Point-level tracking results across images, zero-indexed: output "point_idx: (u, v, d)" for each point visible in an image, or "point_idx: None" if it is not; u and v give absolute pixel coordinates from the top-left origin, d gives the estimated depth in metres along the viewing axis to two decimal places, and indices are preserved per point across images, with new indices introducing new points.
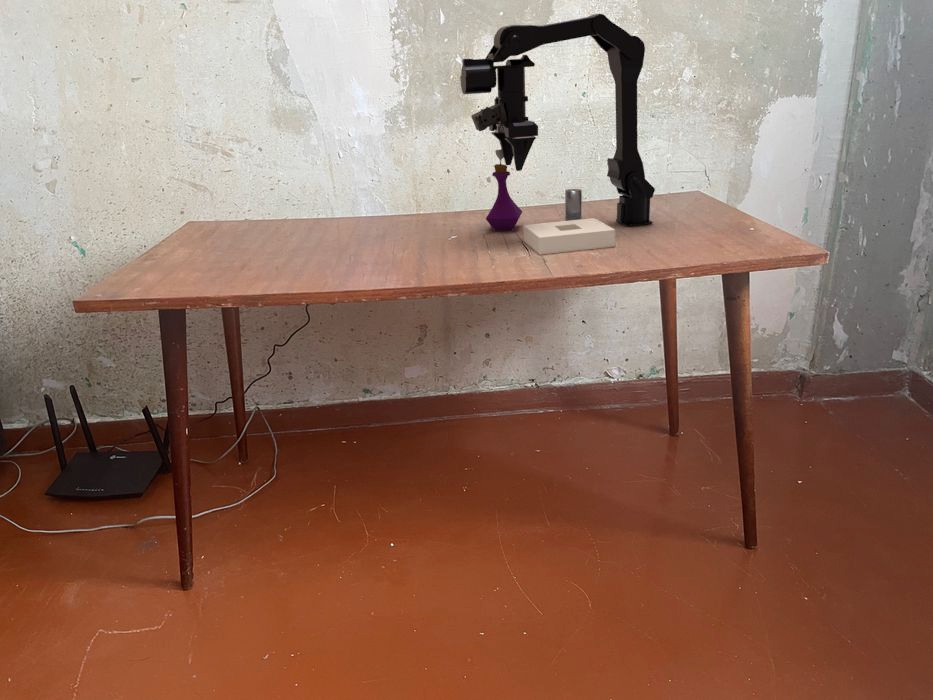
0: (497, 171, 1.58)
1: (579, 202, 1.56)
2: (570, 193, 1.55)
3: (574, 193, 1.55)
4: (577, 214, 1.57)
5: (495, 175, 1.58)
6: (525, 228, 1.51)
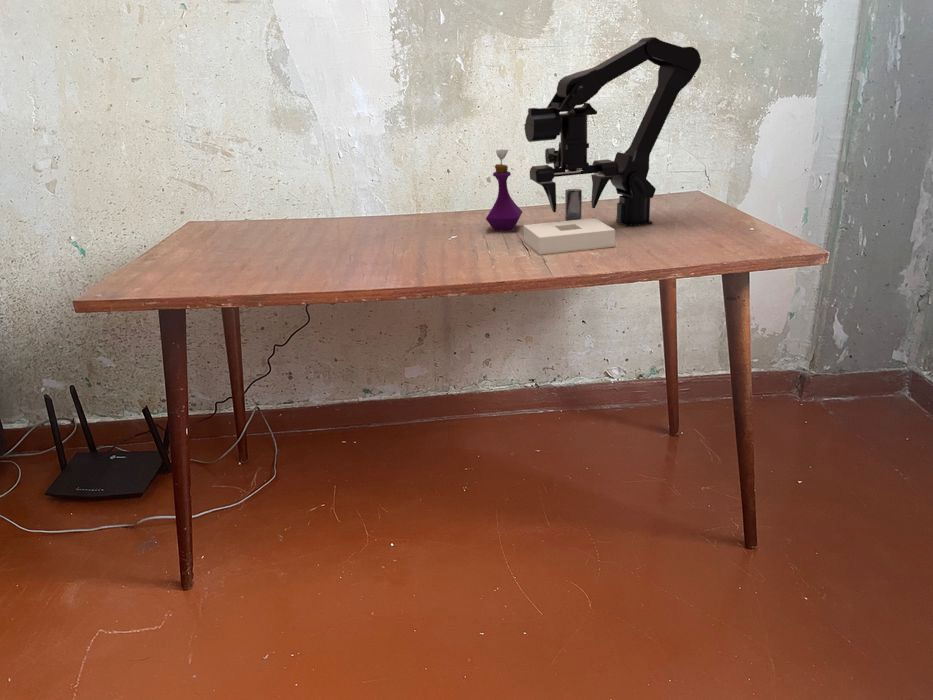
0: (498, 171, 1.58)
1: (579, 202, 1.56)
2: (570, 193, 1.55)
3: (574, 193, 1.55)
4: (577, 214, 1.57)
5: (496, 175, 1.58)
6: (525, 228, 1.51)
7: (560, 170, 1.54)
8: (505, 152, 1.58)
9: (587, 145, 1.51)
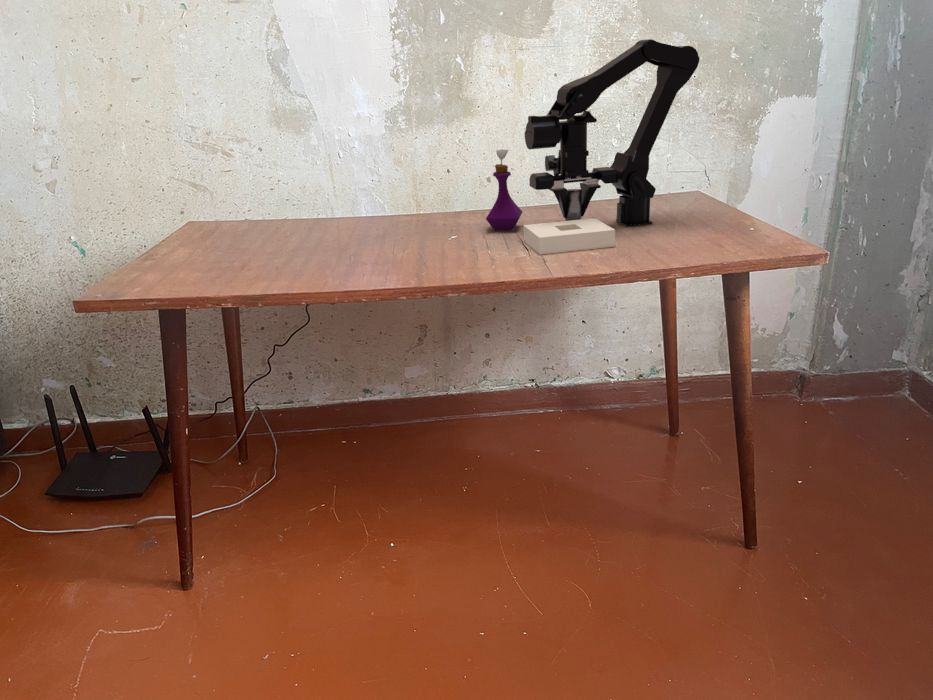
0: (498, 171, 1.58)
1: (579, 202, 1.56)
2: (570, 193, 1.55)
3: (574, 193, 1.55)
4: (577, 214, 1.57)
5: (496, 175, 1.58)
6: (525, 228, 1.51)
7: (560, 177, 1.54)
8: (505, 152, 1.58)
9: (587, 153, 1.51)
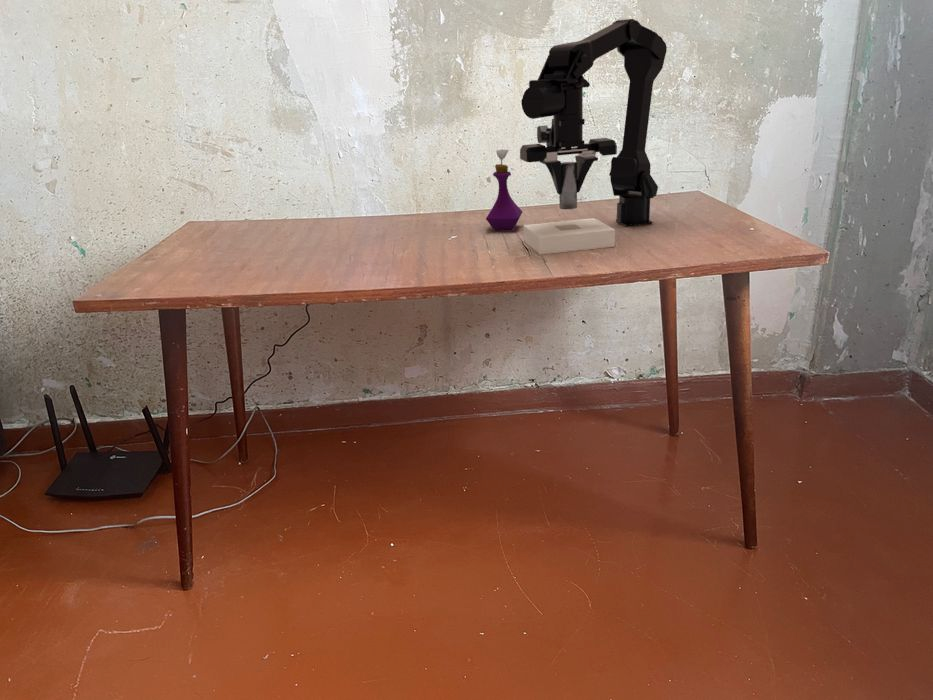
0: (498, 171, 1.58)
1: (574, 176, 1.43)
2: (564, 166, 1.42)
3: (569, 166, 1.41)
4: (572, 189, 1.43)
5: (496, 175, 1.58)
6: (525, 228, 1.51)
7: (553, 149, 1.41)
8: (505, 152, 1.58)
9: (582, 121, 1.37)
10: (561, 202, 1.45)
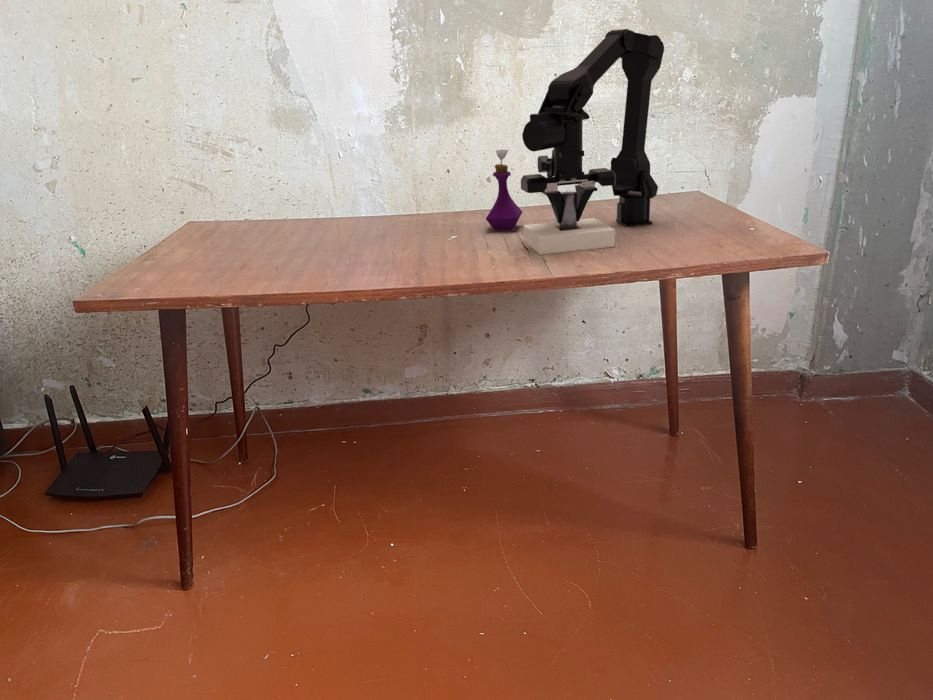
0: (498, 171, 1.58)
1: (574, 206, 1.45)
2: (564, 196, 1.44)
3: (569, 196, 1.44)
4: (572, 218, 1.46)
5: (496, 175, 1.58)
6: (525, 228, 1.51)
7: (553, 180, 1.43)
8: (505, 152, 1.58)
9: (582, 153, 1.40)
10: None
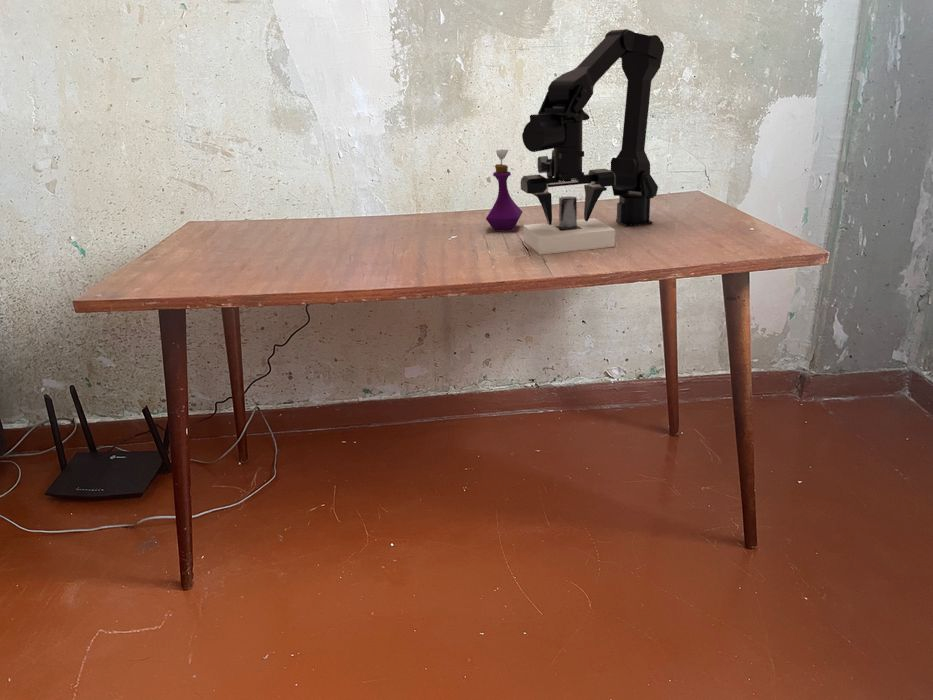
0: (498, 171, 1.58)
1: (574, 211, 1.45)
2: (564, 201, 1.44)
3: (568, 201, 1.44)
4: (572, 223, 1.46)
5: (496, 175, 1.58)
6: (525, 228, 1.51)
7: (553, 180, 1.43)
8: (505, 152, 1.58)
9: (582, 153, 1.40)
10: None
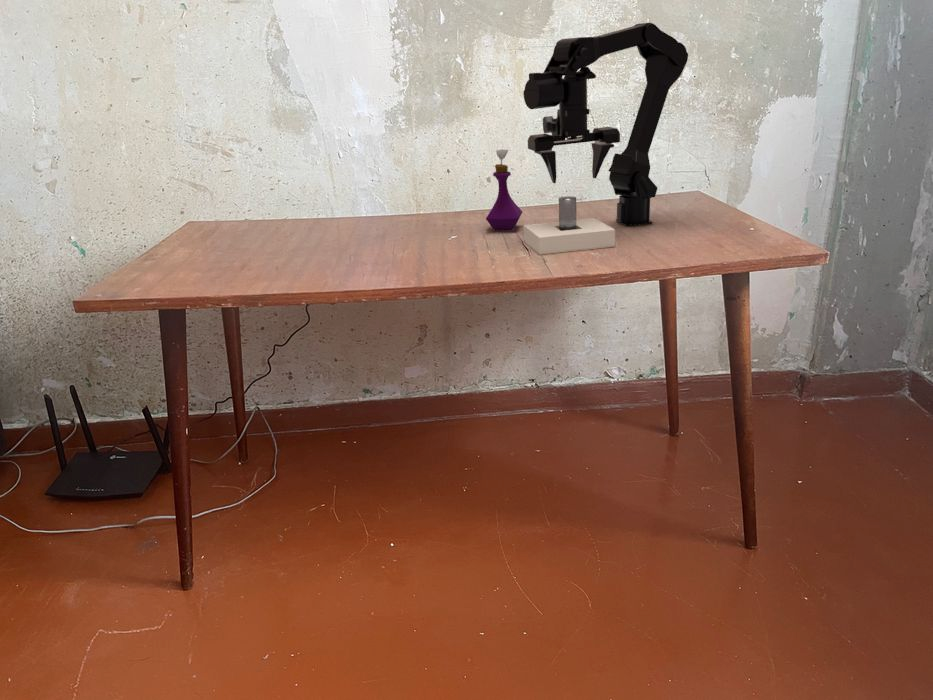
0: (498, 171, 1.58)
1: (574, 211, 1.45)
2: (564, 201, 1.44)
3: (568, 201, 1.44)
4: (572, 223, 1.46)
5: (496, 175, 1.58)
6: (525, 228, 1.51)
7: (559, 138, 1.47)
8: (505, 152, 1.58)
9: (587, 111, 1.44)
10: None
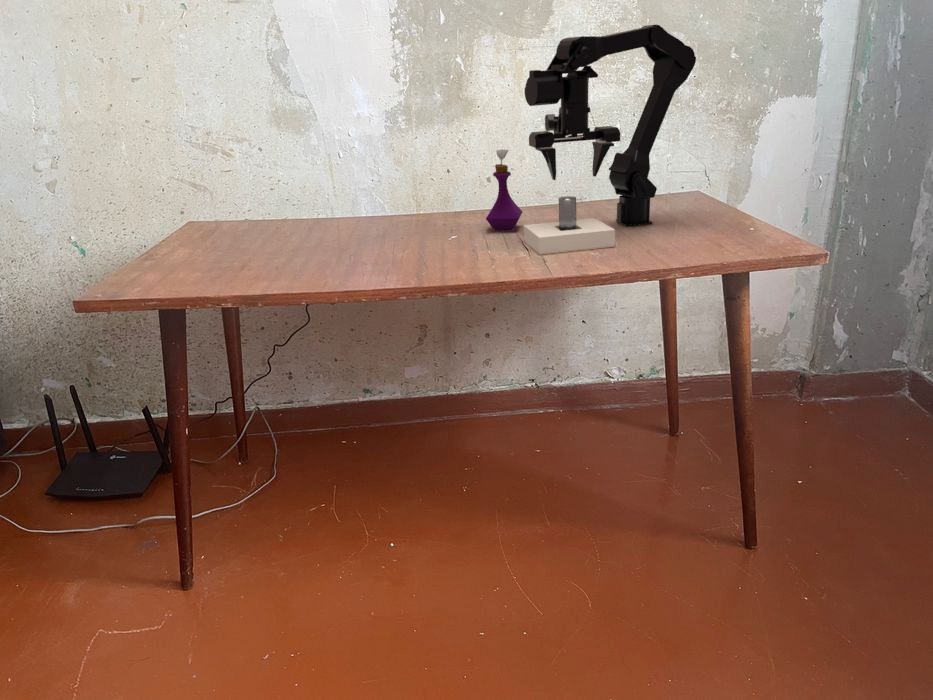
0: (498, 171, 1.58)
1: (574, 211, 1.45)
2: (564, 201, 1.44)
3: (568, 201, 1.44)
4: (572, 223, 1.46)
5: (496, 175, 1.58)
6: (525, 228, 1.51)
7: (560, 136, 1.49)
8: (505, 152, 1.58)
9: (588, 109, 1.46)
10: None
